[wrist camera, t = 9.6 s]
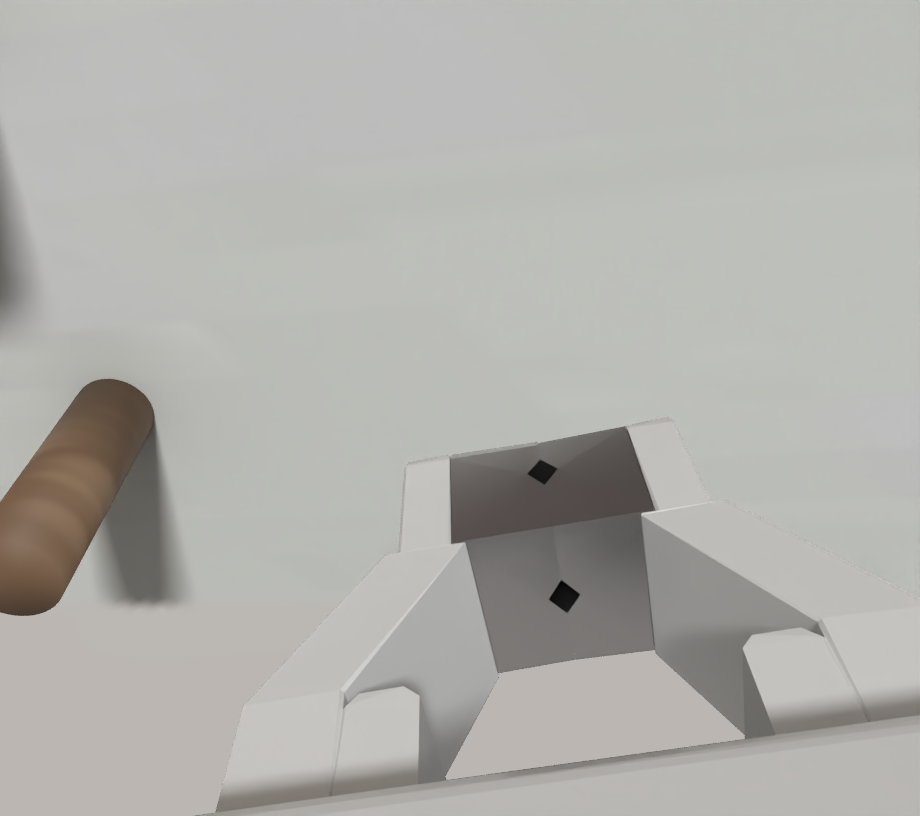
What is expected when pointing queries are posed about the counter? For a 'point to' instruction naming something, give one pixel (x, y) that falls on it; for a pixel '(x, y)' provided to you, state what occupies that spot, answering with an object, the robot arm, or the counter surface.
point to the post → (67, 493)
